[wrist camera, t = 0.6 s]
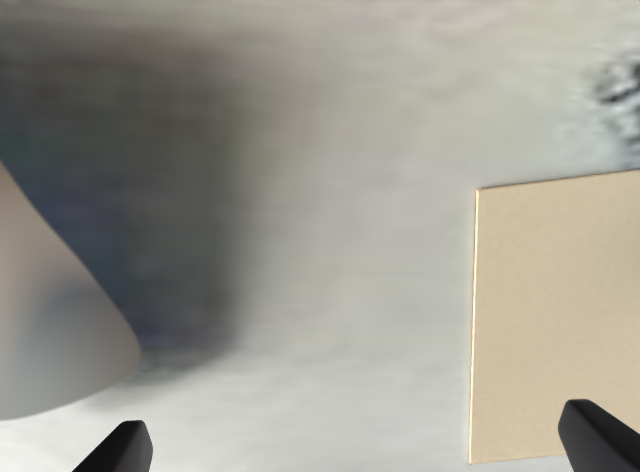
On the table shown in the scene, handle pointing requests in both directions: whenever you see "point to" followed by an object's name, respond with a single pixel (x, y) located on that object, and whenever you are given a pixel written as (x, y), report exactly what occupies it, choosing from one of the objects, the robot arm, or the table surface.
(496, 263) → the cloth
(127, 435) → the robot arm
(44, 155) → the table surface
